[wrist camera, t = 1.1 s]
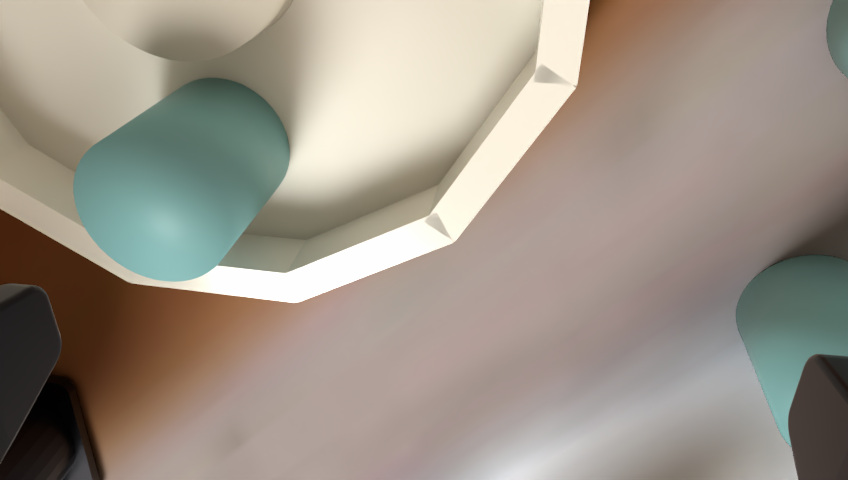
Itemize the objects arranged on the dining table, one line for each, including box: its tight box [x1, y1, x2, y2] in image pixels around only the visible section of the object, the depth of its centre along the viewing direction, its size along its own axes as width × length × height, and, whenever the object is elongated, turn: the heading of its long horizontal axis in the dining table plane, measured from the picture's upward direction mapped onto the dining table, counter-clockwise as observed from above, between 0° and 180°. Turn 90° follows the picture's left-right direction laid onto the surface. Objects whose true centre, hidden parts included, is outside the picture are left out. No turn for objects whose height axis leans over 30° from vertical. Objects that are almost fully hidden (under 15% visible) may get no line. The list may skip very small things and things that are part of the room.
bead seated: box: [73, 78, 290, 282], centre depth 19 cm, size 4×4×4 cm
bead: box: [736, 255, 848, 446], centre depth 20 cm, size 4×4×4 cm
